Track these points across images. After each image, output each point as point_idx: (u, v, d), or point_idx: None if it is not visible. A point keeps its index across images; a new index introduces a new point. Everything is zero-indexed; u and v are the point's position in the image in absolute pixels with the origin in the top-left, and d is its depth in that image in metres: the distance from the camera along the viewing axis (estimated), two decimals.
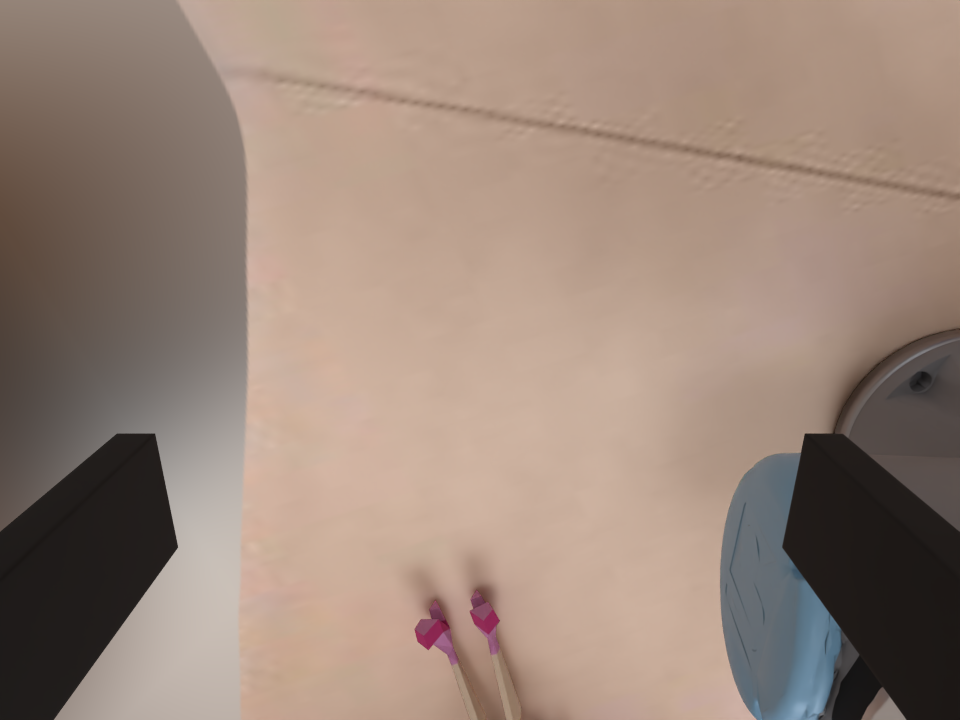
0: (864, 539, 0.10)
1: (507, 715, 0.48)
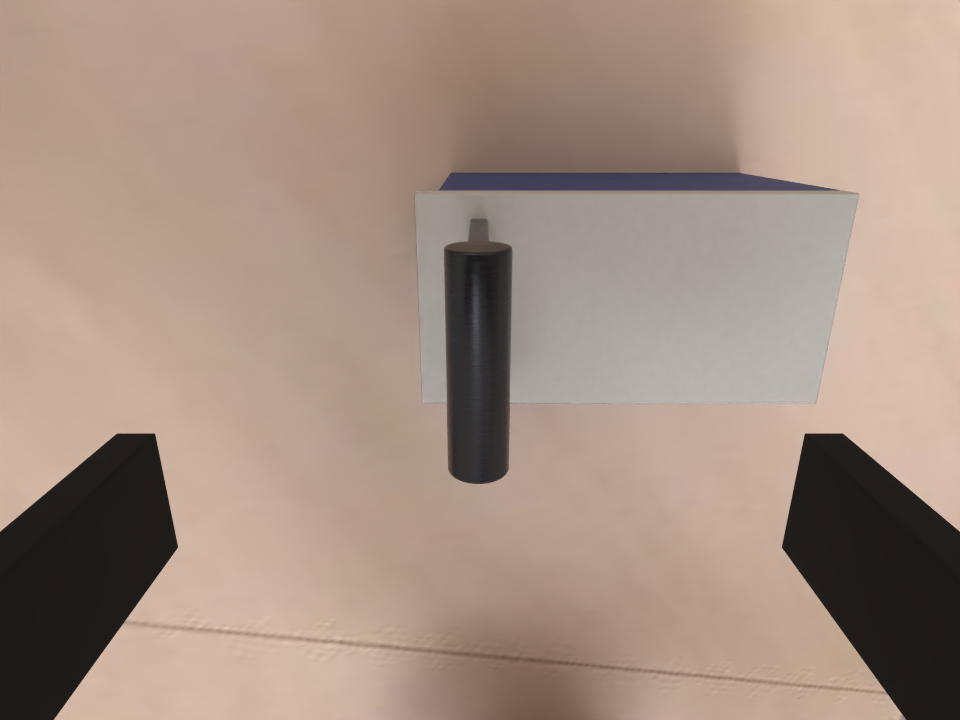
0: (864, 539, 0.10)
1: None
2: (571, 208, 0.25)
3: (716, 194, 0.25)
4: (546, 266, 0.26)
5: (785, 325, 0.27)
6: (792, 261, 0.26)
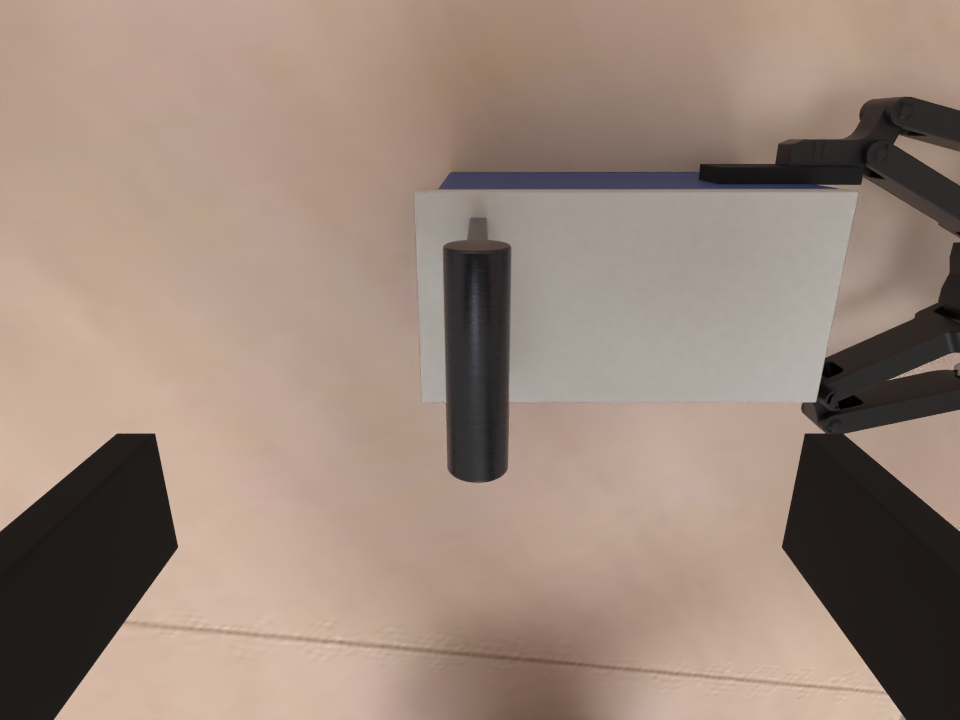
0: (864, 539, 0.10)
1: None
2: (570, 207, 0.25)
3: (715, 193, 0.25)
4: (545, 265, 0.26)
5: (785, 324, 0.27)
6: (792, 260, 0.26)
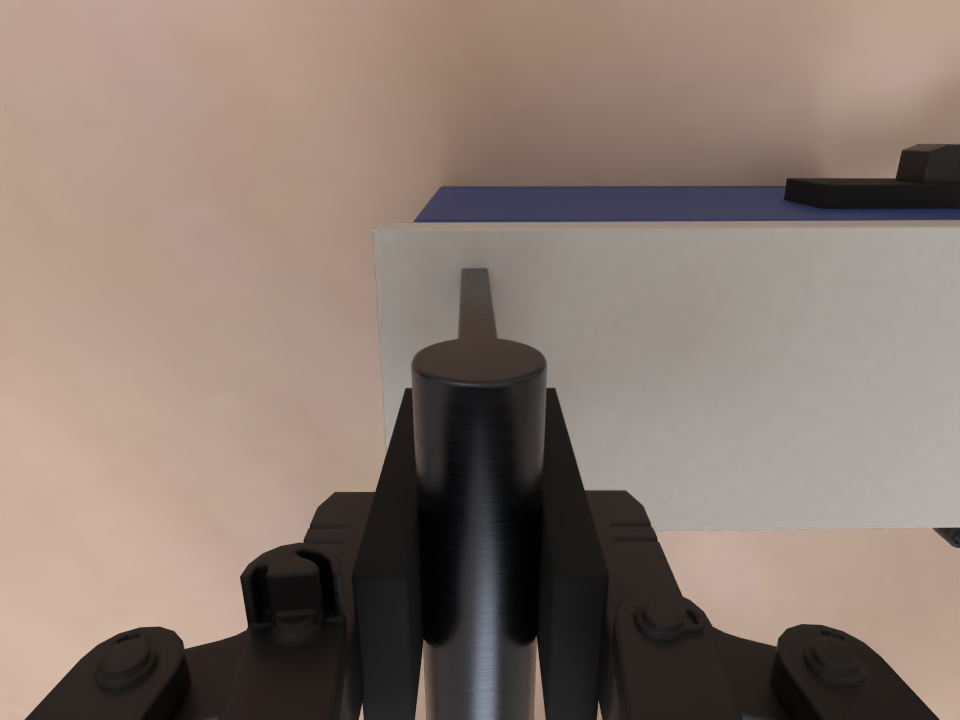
0: None
1: None
2: (619, 251, 0.16)
3: (844, 228, 0.16)
4: (578, 338, 0.17)
5: (933, 420, 0.18)
6: (952, 328, 0.17)
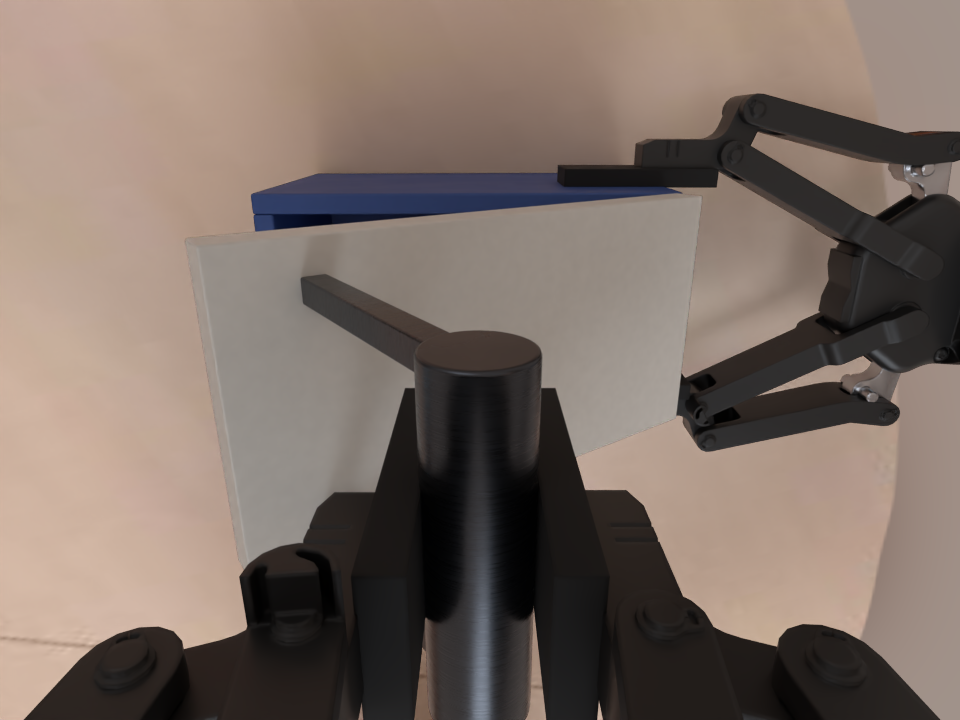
0: None
1: None
2: (441, 243, 0.17)
3: (592, 208, 0.20)
4: None
5: (652, 345, 0.24)
6: (656, 275, 0.23)
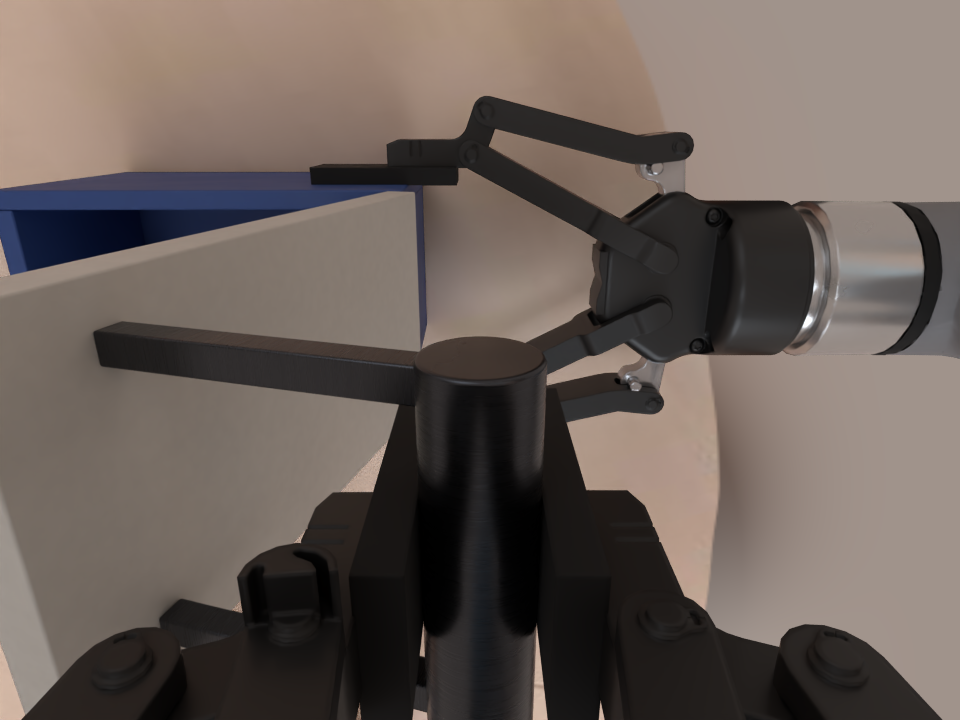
0: None
1: None
2: (233, 263, 0.15)
3: (347, 210, 0.20)
4: None
5: (401, 338, 0.25)
6: (396, 271, 0.24)
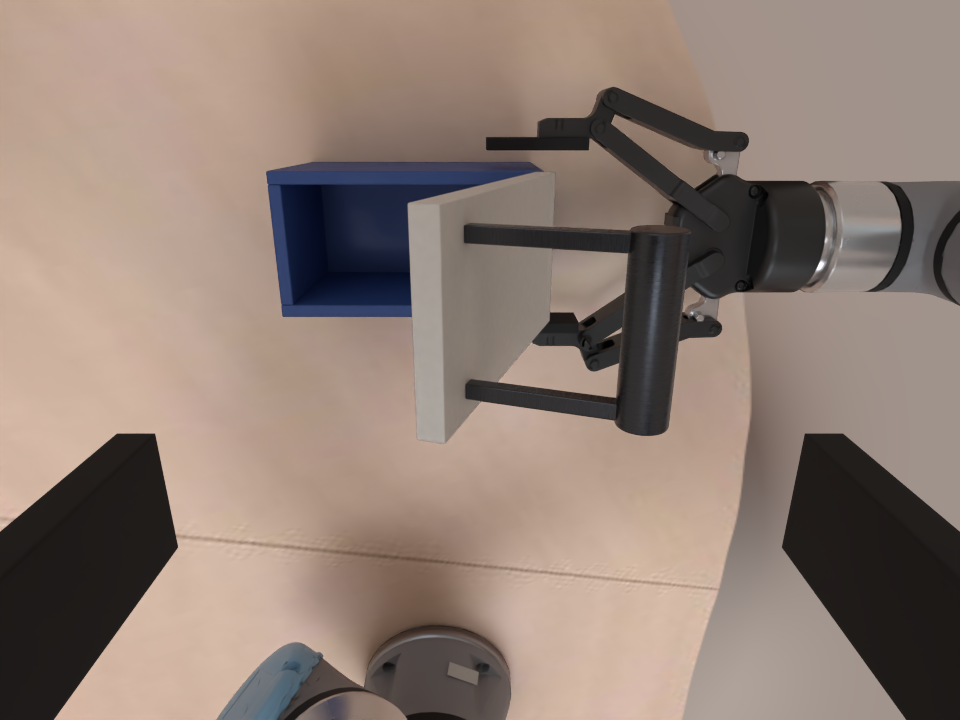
0: (865, 538, 0.10)
1: None
2: (496, 202, 0.27)
3: (530, 179, 0.32)
4: (489, 260, 0.27)
5: (544, 270, 0.37)
6: (545, 223, 0.36)
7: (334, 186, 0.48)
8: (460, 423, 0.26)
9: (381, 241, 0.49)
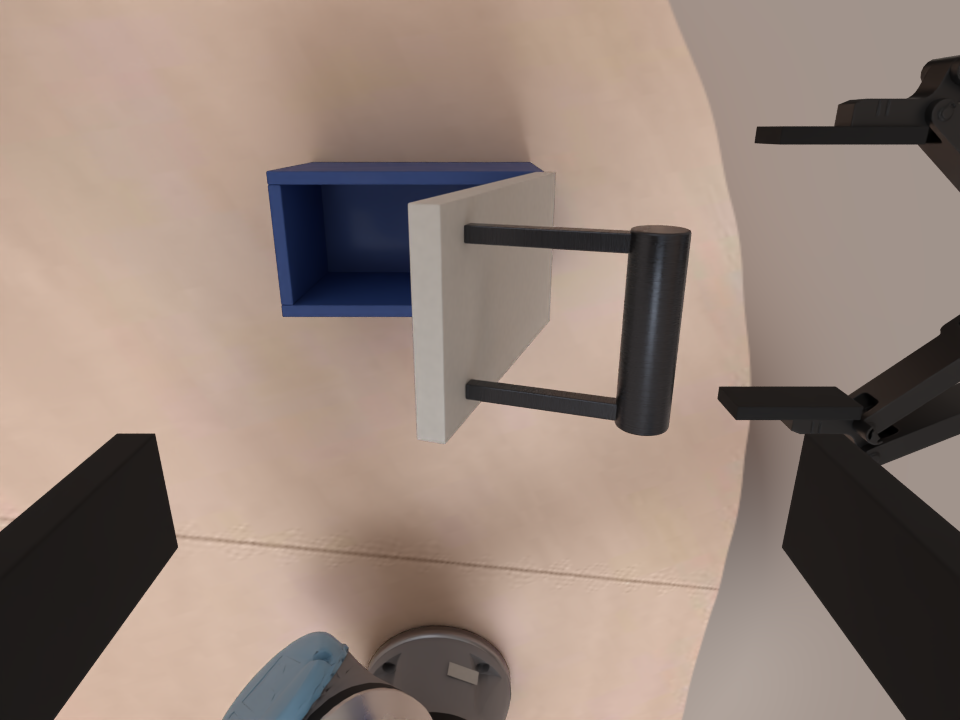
0: (865, 538, 0.10)
1: None
2: (496, 202, 0.27)
3: (530, 179, 0.32)
4: (489, 260, 0.27)
5: (544, 270, 0.37)
6: (545, 224, 0.36)
7: (334, 186, 0.48)
8: (460, 423, 0.26)
9: (381, 241, 0.49)
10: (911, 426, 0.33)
